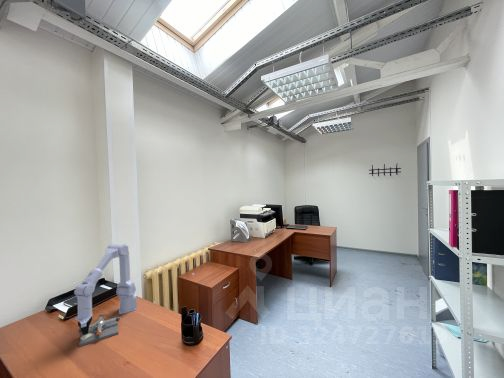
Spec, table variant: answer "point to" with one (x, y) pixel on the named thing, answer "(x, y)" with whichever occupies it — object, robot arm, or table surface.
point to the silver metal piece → (100, 325)
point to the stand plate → (93, 337)
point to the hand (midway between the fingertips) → (85, 333)
